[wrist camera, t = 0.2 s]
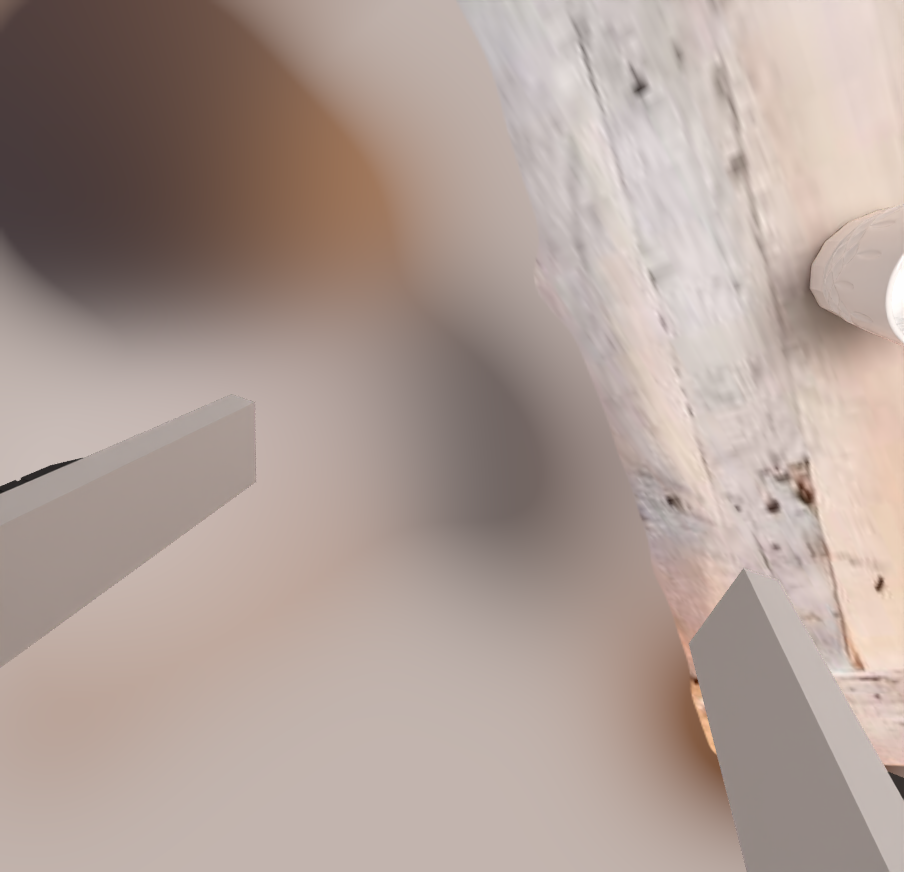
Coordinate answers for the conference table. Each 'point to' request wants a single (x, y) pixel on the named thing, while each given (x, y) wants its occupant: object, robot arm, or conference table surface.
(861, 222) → the white cup
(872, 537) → the conference table surface
